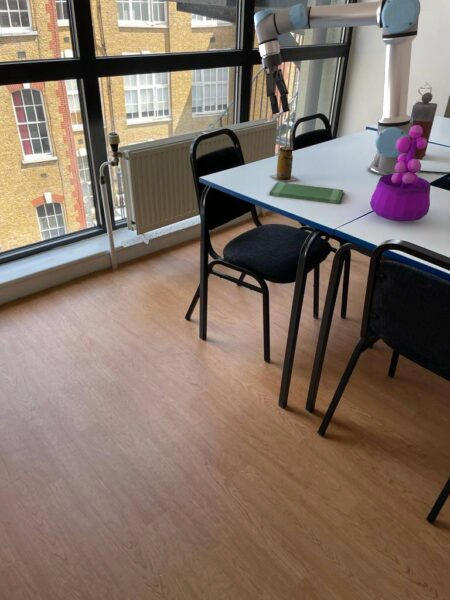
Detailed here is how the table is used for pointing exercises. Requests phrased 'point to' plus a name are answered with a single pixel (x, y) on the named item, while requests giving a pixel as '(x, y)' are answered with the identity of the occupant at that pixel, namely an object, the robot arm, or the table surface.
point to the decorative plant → (403, 184)
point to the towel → (307, 192)
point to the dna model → (424, 88)
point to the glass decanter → (423, 121)
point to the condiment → (284, 165)
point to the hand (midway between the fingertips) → (281, 112)
